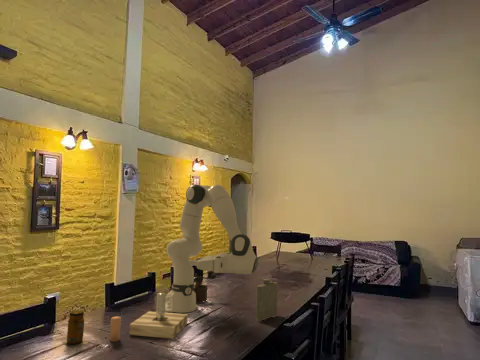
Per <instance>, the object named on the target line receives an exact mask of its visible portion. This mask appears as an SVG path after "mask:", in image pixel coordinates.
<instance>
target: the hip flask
mask: <svg viewBox="0 0 480 360" xmlns="http://www.w3.org/2000/svg"><path fill="white" fill-rule="evenodd" d="M262 281H263V283H260V284H258V285H256V294H255V297H256V298H255V301H256V302H255V303H256V305H255V321H256V320H258V321H261V320H263V319H265V318H268V317H271V316H275V315H277V316H278V289H279V288H278V286H279V284H278V282H277V281H271V280H270V279H269V278H262Z"/></svg>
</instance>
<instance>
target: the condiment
mask: <svg viewBox="0 0 480 360" xmlns="http://www.w3.org/2000/svg"><path fill="white" fill-rule="evenodd" d="M84 314H85V313H84V311H83V310H73V311H71V312H69V319H68V320H67V335H66V340H63V341H62V342H61V343H63V344H64V345H66V346H68V347H69V348H74V347H79V346H83V345H86V344H89V342H88V341H86V340H85V339H84V333H85V332H84V330H85V318H84V316H85V315H84Z"/></svg>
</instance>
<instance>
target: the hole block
mask: <svg viewBox="0 0 480 360" xmlns="http://www.w3.org/2000/svg"><path fill="white" fill-rule="evenodd" d="M188 317H189V315H188V313H187V314H186V313H177V312H165V321H156V311H150V310H148V311H147V312H146V313H144V314H142V315H141V316H140V317H138V318H137V319H135V320H134V321H132V322H131V323H129V335H130V336H142V337H151V338H160V339H161V338H163V339H175V338H176V337H177V335H179V333H181V331H182V330H183V329H184V328H185V327H186V326H187V325H188Z"/></svg>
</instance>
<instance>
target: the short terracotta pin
mask: <svg viewBox="0 0 480 360" xmlns="http://www.w3.org/2000/svg"><path fill="white" fill-rule="evenodd" d="M121 325H122V316H112V317H111V318H110V332H109V333H110V334H109V341H110V342H113V343H114V342H115V343H116V342H118V341H120V340H121V328H122V326H121Z"/></svg>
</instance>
